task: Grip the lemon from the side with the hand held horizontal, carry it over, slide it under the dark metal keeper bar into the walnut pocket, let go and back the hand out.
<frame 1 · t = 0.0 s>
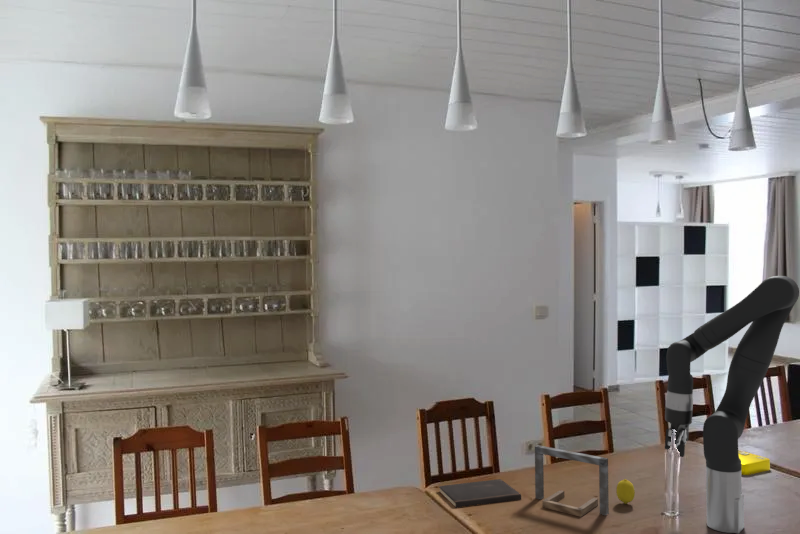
hand: (675, 459, 197), 17 cm above the table, tool pointing down, fingers open, 8 cm apart
keeper pocket: (570, 505, 207), on the table
yellow flat square block: (740, 468, 243), on the table
lemon: (625, 504, 207), on the table
hardcover book: (479, 497, 217), on the table
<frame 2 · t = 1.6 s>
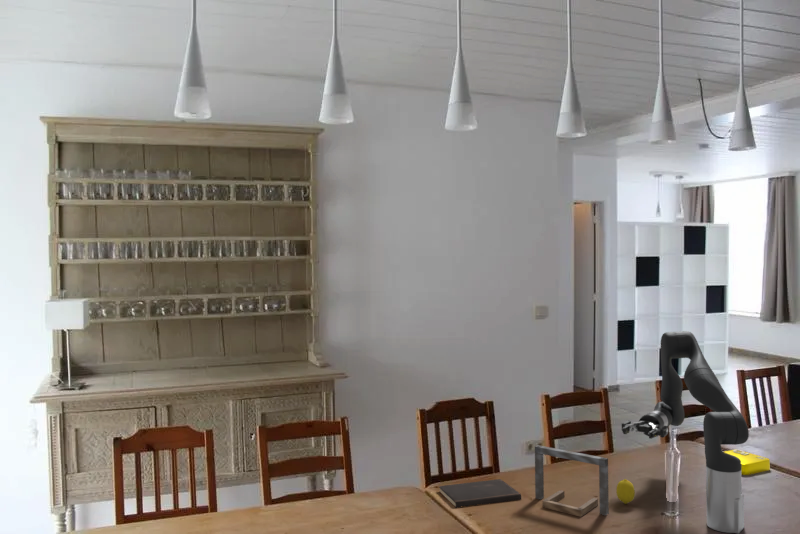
hand: (637, 433, 216), 20 cm above the table, tool horizontal, fingers open, 8 cm apart
nothing on the table moved.
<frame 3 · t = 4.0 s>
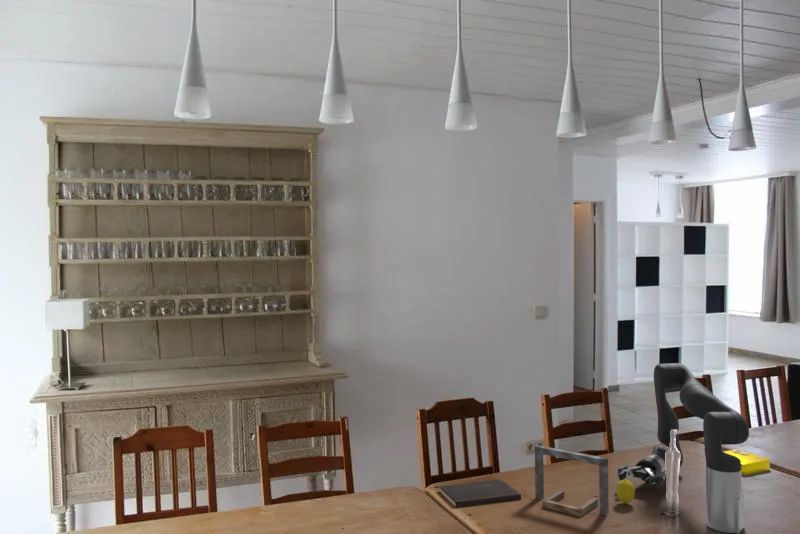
hand: (633, 480, 212), 6 cm above the table, tool horizontal, fingers open, 8 cm apart
nothing on the table moved.
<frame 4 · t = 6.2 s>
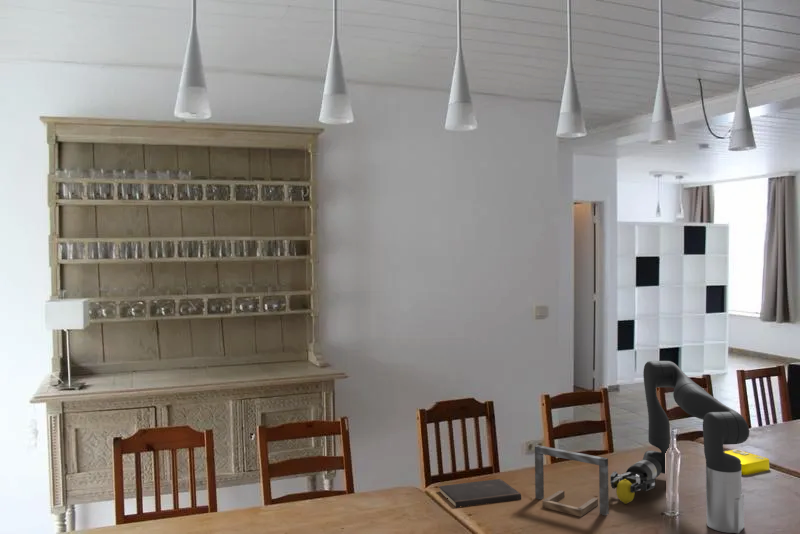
hand: (622, 487, 205), 6 cm above the table, tool horizontal, fingers closed on lemon, 5 cm apart
lemon: (625, 504, 207), on the table, touching gripper
everything else where it was.
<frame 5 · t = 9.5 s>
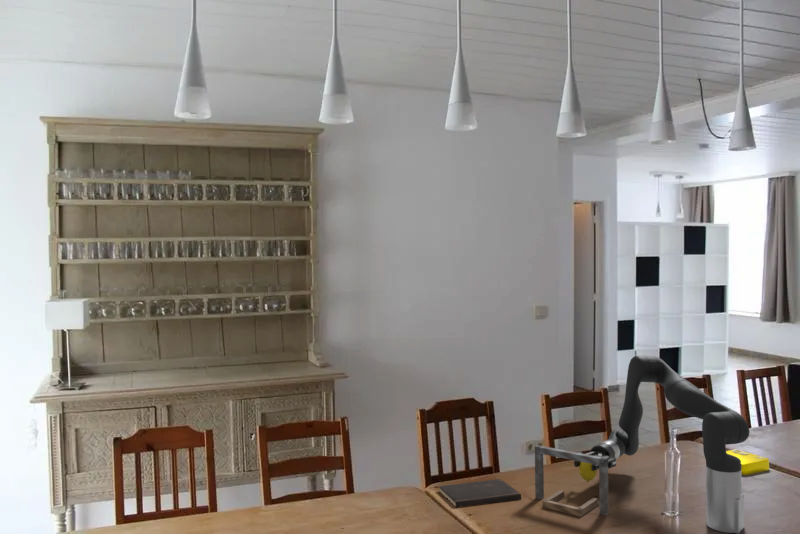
hand: (584, 465, 215), 10 cm above the table, tool horizontal, fingers closed on lemon, 5 cm apart
lemon: (587, 482, 217), point 4 cm above the table, touching gripper
everything else where it was.
when the fingers open (7 cm above the table, at t = 13.2 s): lemon drops 1 cm, on the table.
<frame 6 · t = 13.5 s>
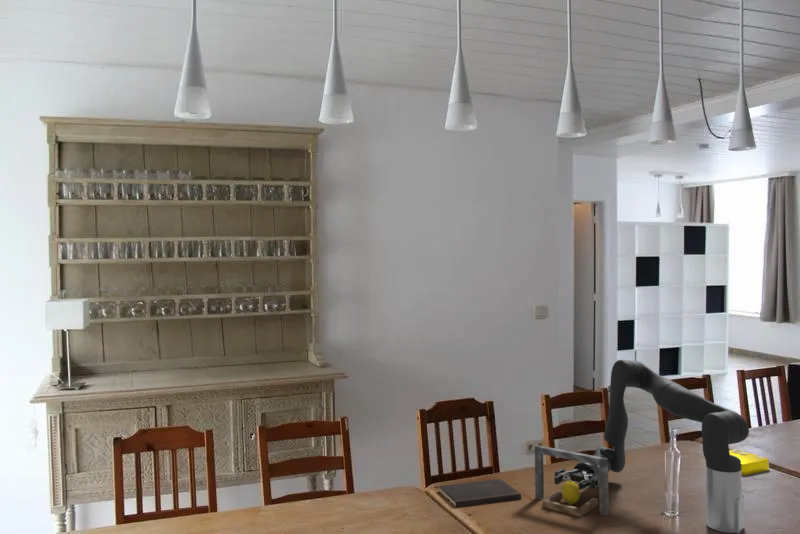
hand: (567, 483, 205), 7 cm above the table, tool horizontal, fingers open, 7 cm apart
lemon: (570, 506, 207), on the table
everything else where it was.
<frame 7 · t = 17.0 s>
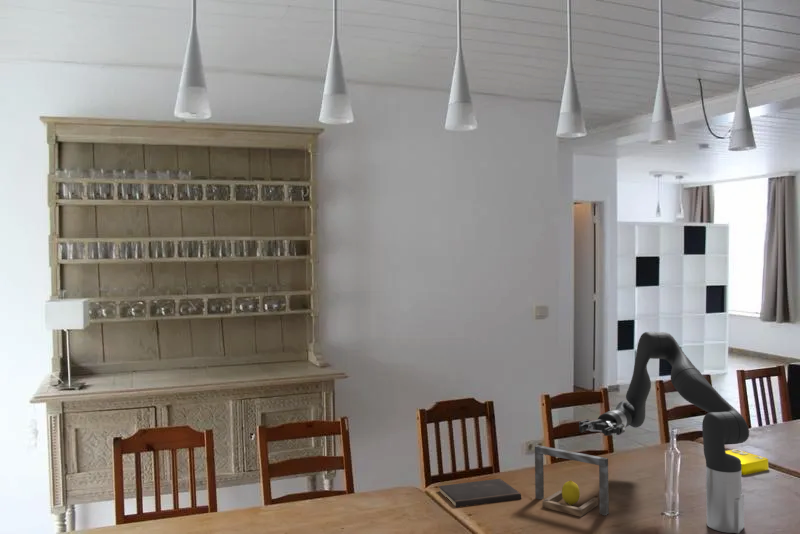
hand: (592, 430, 216), 21 cm above the table, tool horizontal, fingers open, 8 cm apart
nothing on the table moved.
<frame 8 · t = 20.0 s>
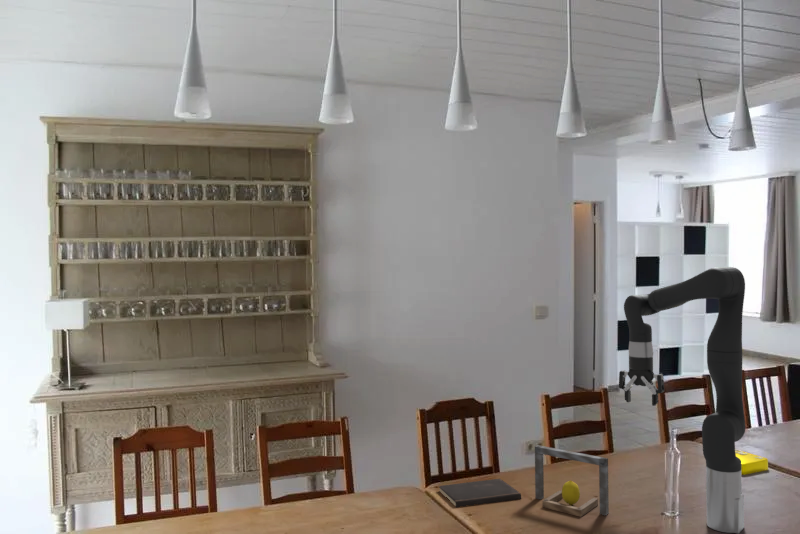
hand: (641, 403, 216), 30 cm above the table, tool pointing down, fingers open, 8 cm apart
nothing on the table moved.
at the end: lemon inside the target area on the keeper pocket (0.1 cm from its centre), point 0.0 cm above the keeper pocket's base; the gripper is holding nothing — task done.
